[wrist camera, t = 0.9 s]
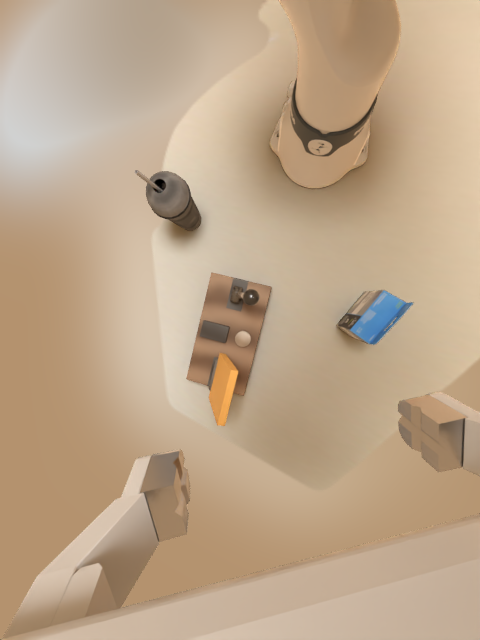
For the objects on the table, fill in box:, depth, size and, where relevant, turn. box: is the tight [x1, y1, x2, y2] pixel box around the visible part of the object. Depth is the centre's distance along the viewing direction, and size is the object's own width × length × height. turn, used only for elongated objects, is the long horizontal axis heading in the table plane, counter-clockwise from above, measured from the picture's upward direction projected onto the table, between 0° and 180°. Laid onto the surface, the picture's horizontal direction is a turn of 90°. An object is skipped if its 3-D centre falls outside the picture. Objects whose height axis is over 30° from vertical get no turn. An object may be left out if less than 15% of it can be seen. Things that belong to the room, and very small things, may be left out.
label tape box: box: [337, 290, 414, 345], centre depth 45 cm, size 9×4×12 cm, turn 141°
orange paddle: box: [209, 353, 238, 426], centre depth 45 cm, size 9×2×11 cm, turn 166°
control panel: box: [187, 273, 271, 396], centre depth 52 cm, size 22×12×5 cm, turn 166°
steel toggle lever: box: [230, 286, 260, 306], centre depth 44 cm, size 3×3×12 cm
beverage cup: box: [135, 170, 201, 230], centre depth 44 cm, size 7×7×20 cm
